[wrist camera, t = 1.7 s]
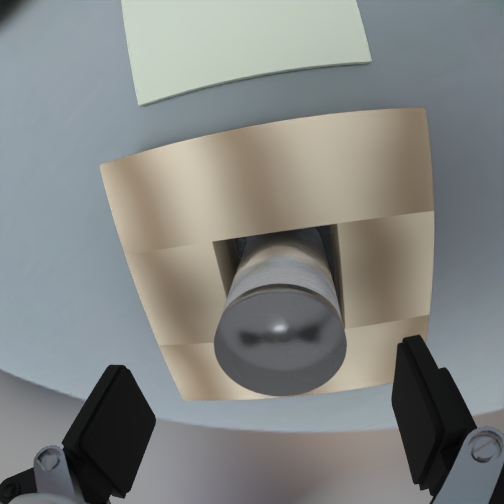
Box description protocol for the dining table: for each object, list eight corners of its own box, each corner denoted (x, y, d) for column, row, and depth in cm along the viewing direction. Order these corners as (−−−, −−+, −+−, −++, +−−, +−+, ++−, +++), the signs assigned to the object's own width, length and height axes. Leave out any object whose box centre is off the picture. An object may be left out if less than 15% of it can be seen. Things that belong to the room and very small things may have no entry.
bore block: (392, 109, 17) (425, 107, 12) (401, 332, 22) (420, 376, 18) (139, 153, 19) (99, 165, 15) (199, 355, 25) (183, 400, 20)
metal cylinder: (318, 208, 20) (343, 285, 10) (327, 280, 21) (347, 389, 12) (239, 219, 20) (198, 302, 11) (253, 289, 22) (230, 399, 13)
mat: (329, -64, 12) (330, -70, 11) (368, 63, 16) (371, 61, 15) (123, -18, 15) (118, -22, 14) (143, 106, 18) (138, 105, 17)
